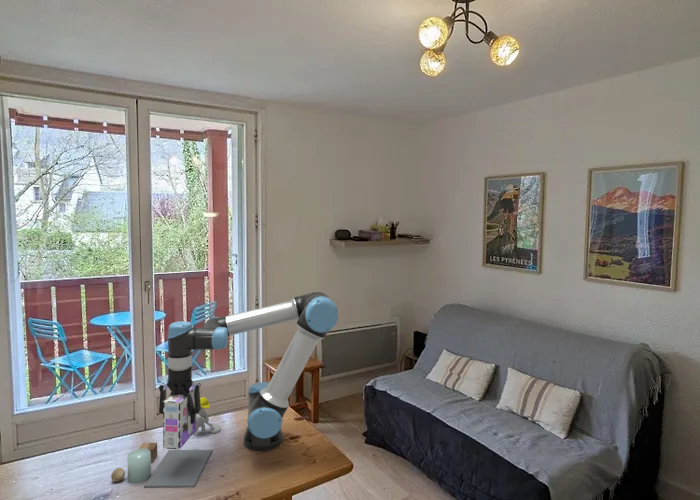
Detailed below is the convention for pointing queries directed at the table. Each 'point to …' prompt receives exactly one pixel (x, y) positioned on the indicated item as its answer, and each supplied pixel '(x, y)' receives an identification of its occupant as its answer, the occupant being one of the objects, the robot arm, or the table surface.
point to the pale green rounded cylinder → (139, 465)
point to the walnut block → (151, 447)
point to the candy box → (176, 421)
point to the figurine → (205, 418)
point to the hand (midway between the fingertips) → (180, 432)
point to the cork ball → (118, 474)
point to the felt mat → (179, 469)
